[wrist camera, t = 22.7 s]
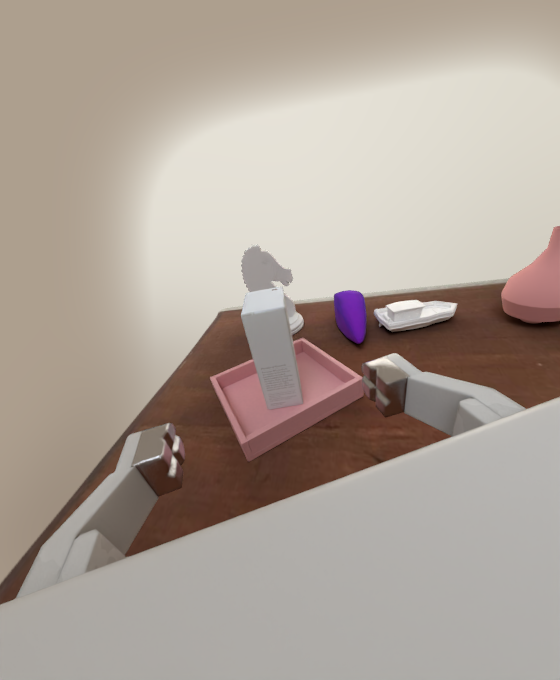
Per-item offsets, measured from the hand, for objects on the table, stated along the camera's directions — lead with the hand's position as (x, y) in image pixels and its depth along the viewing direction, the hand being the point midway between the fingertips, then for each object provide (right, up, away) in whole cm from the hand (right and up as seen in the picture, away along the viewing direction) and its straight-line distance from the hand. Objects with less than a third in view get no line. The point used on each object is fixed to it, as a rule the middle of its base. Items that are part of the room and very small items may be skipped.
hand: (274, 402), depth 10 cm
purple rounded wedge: (+12, +5, +32) cm, 34 cm away
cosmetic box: (+1, -4, +20) cm, 20 cm away
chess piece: (0, +5, +37) cm, 37 cm away
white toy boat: (+22, +5, +29) cm, 37 cm away
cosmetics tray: (+1, -4, +20) cm, 21 cm away
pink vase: (+35, +5, +25) cm, 43 cm away
